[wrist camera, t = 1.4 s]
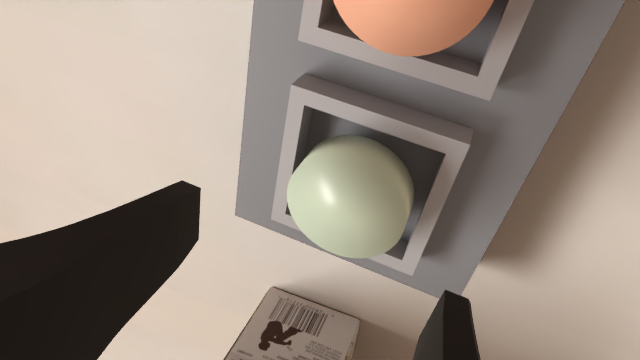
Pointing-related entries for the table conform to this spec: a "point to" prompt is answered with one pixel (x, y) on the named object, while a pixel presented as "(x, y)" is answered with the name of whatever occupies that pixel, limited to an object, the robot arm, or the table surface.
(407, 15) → the terracotta button
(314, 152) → the sage button
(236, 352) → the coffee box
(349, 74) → the button panel
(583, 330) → the table surface
